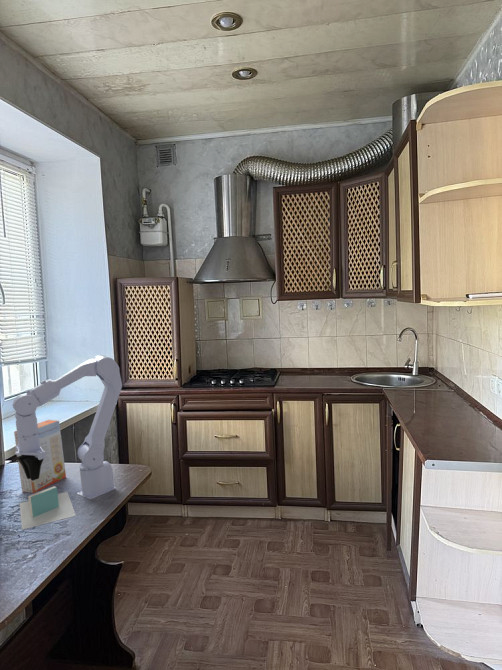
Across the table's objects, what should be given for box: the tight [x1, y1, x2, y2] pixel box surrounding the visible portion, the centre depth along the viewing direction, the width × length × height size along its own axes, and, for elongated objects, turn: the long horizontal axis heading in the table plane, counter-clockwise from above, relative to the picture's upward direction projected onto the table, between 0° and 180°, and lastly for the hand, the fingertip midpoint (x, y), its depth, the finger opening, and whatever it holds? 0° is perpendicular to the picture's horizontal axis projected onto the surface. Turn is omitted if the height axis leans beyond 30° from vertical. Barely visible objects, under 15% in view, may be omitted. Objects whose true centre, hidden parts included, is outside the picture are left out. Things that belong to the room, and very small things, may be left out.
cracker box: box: [13, 419, 67, 494], centre depth 162 cm, size 14×6×21 cm, turn 154°
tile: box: [27, 485, 59, 517], centre depth 141 cm, size 8×2×6 cm, turn 141°
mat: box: [19, 491, 77, 530], centre depth 143 cm, size 20×14×1 cm
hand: (33, 478), depth 144 cm, fingers closed
